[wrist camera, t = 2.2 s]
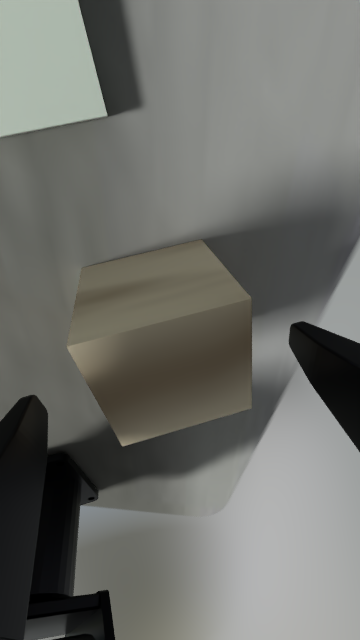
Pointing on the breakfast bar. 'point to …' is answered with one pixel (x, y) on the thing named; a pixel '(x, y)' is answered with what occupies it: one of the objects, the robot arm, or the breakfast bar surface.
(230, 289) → the maple block
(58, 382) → the breakfast bar surface
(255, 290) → the breakfast bar surface
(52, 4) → the sage pad
